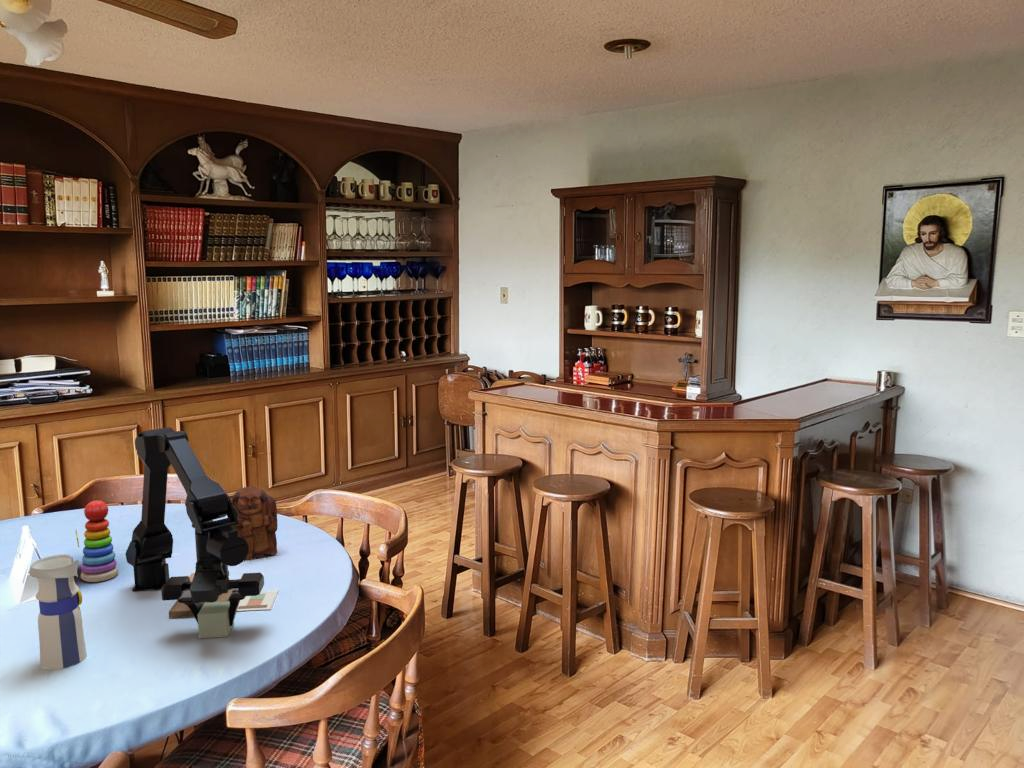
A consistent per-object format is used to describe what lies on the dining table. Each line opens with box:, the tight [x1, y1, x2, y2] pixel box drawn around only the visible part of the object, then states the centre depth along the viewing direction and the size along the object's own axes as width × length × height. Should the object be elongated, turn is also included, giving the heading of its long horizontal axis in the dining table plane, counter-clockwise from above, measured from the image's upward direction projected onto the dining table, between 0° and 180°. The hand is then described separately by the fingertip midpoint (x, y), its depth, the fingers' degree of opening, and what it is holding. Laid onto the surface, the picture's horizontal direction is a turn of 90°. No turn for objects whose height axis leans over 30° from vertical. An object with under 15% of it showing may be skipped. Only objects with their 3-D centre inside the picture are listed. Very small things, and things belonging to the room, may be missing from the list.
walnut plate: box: [168, 590, 232, 619], centre depth 172 cm, size 11×11×2 cm
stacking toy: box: [80, 499, 119, 583], centre depth 187 cm, size 8×8×19 cm
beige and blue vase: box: [29, 529, 88, 671], centre depth 147 cm, size 8×9×25 cm
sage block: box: [197, 602, 235, 639], centre depth 160 cm, size 6×6×5 cm
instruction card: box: [236, 589, 279, 613], centre depth 174 cm, size 8×10×1 cm
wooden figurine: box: [231, 486, 278, 561], centre depth 201 cm, size 12×6×18 cm, turn 112°
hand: (216, 626), depth 160 cm, fingers closed on sage block, 5 cm apart
